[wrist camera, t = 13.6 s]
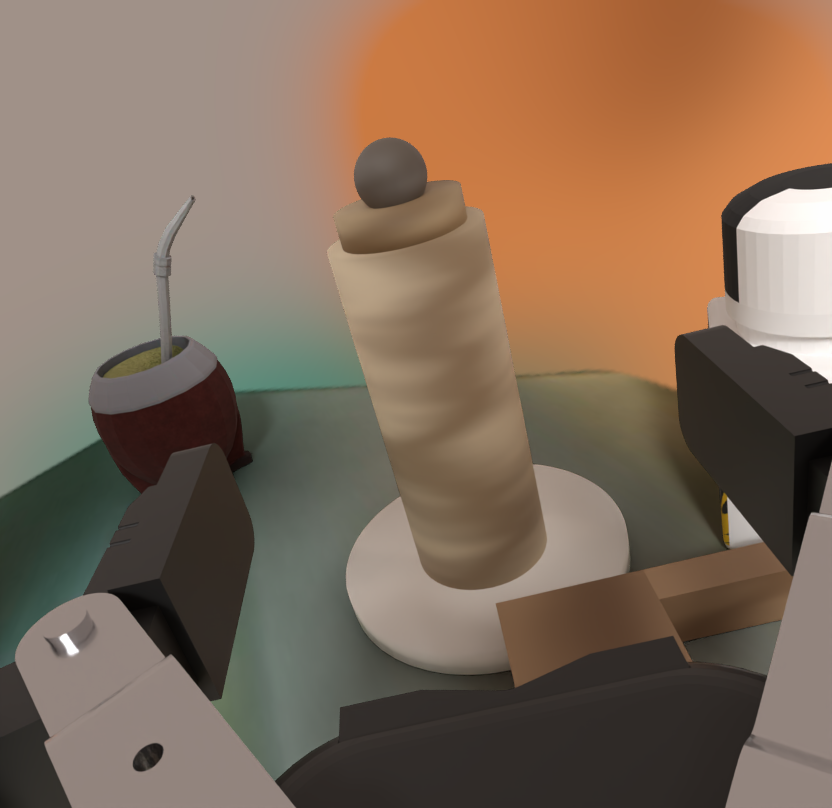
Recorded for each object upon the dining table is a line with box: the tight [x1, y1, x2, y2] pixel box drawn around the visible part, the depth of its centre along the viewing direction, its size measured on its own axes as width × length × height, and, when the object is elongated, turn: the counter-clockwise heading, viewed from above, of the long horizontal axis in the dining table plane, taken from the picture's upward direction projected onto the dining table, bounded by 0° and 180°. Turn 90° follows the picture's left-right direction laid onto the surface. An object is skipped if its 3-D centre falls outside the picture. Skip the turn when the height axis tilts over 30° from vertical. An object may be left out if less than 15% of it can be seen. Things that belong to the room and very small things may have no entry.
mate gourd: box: [89, 195, 253, 494], centre depth 36 cm, size 8×8×15 cm
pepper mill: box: [327, 138, 547, 590], centre depth 24 cm, size 5×5×15 cm
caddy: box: [496, 542, 793, 688], centre depth 19 cm, size 13×9×2 cm
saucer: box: [346, 464, 630, 675], centre depth 28 cm, size 11×11×1 cm
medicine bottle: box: [707, 164, 832, 549], centre depth 24 cm, size 7×7×12 cm
